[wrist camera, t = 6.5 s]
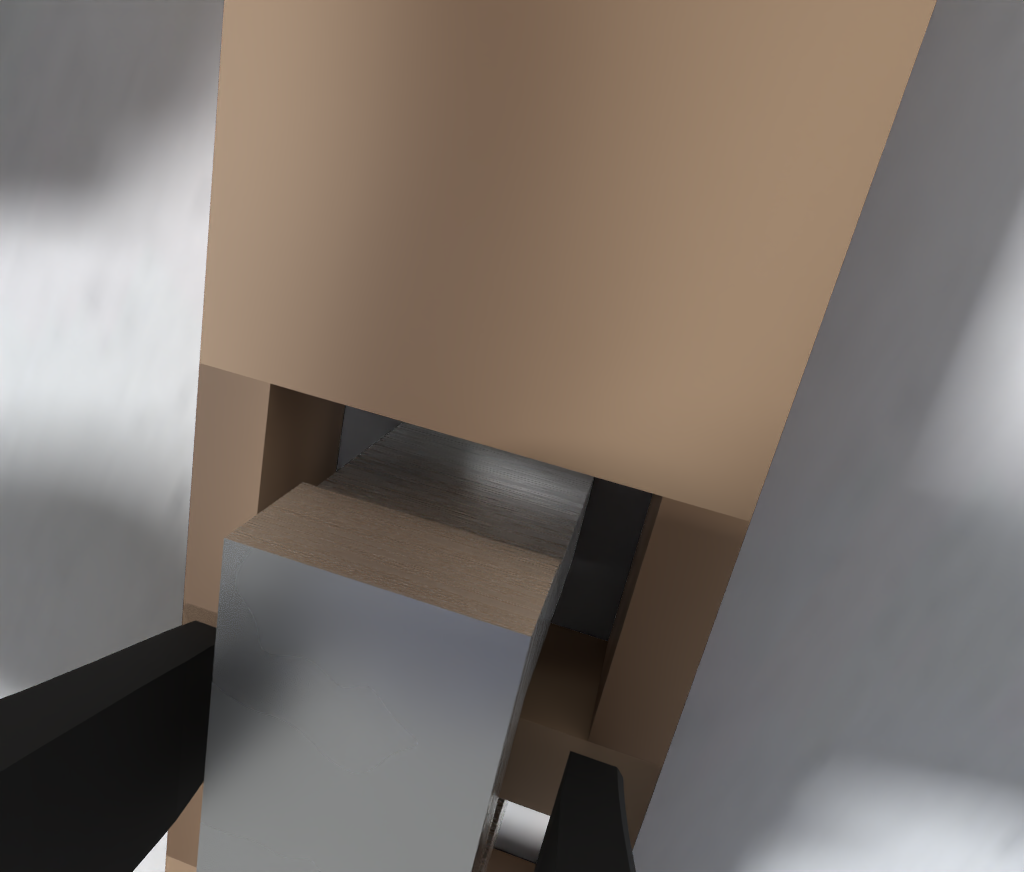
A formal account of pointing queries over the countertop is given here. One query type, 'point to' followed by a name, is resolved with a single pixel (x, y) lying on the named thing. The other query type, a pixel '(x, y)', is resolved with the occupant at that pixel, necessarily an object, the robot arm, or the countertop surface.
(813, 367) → the countertop surface
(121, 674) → the robot arm
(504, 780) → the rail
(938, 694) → the countertop surface
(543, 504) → the brushed aluminum block
